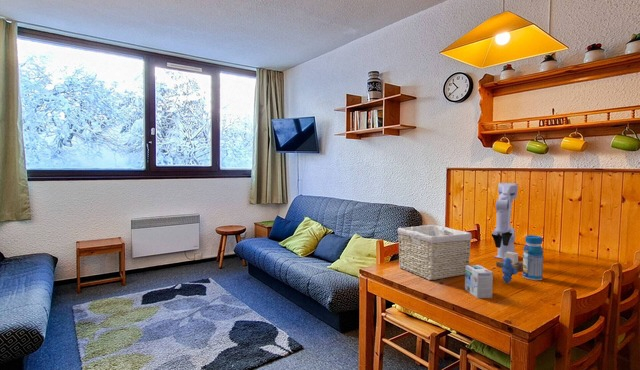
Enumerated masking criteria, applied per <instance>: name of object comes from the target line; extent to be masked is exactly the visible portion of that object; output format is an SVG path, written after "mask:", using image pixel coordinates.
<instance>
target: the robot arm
mask: <svg viewBox="0 0 640 370" xmlns="http://www.w3.org/2000/svg"><path fill="white" fill-rule="evenodd" d="M518 186H519V185H518V183H517V182H516V183H515V182H511V183H510V182H499V183H498V186H497V187H498V188H497V190H498V191H497V192H498V199H496V200H495V201H496V202H495V211H496V212H495V213H496V227H495V228H494V230H493V231H492V233H491V237H492V239H493V243H494V245H495V248H497V255H494V256H493V257H495V258H498V259H502V260H504V253H506V252H513V253H516V252H515V251H516V250H515V248H516V246H515V244H514V242H515V240H516V230H515V228H514V227H512V226H511V220H512V219H511V217H512V216H511V215H512V207H513V201H514V200H515V199H517V197H518V191H519V190H518V188H519V187H518Z"/></svg>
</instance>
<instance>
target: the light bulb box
mask: <svg viewBox="0 0 640 370" xmlns="http://www.w3.org/2000/svg"><path fill="white" fill-rule="evenodd" d="M493 274H494V271H492V270H490V269H487V268H486V267H484V266H482V265H480V264H472V265H471V264H469V265H466V268H465V275H464V290H466V291H467V292H468V294H469V293H470V294H471V295H472V296H473V297H475V298H476V299H490V298H491V299H493V282H494V281H493V279H494V278H493V277H494V275H493Z"/></svg>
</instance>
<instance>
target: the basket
mask: <svg viewBox="0 0 640 370" xmlns="http://www.w3.org/2000/svg"><path fill="white" fill-rule="evenodd" d="M397 234H398V237H397V238H398V259H399V264H398V267H399V269H403V270H405V271H407V272H410V273H412V274H414V275H416V276H419V277H422V278H424V279H426V280H428V281H431V280H434V281H435V280H439V279H446V278H453V277H458V276H459V277H460V276H465V268H466V265H470V256H471V245H472V244H471V241H472V237H473V235H472V233H471V232H469V231H464V230H463V231H462V230H458V229H454V228H451V227H447V226H441V225H437V224H436V225H435V224H428V225H427V224H426V225H419V226H409V227H398V228H397Z"/></svg>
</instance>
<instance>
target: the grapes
mask: <svg viewBox="0 0 640 370" xmlns="http://www.w3.org/2000/svg"><path fill="white" fill-rule="evenodd" d="M502 260H503V261H504V262H505V263H503V264H502V265H503V267H504V268H501V272H502V274H503V275H502V276H501V278H502V280H503V282H505V283H506V284H509V283H511V282H512V280H513V277H512V276H513V275H514V276H516V275H517V274H518V273H519V270H518V271H517V270H516V269H515V268H512V267H513V265H512V264H511V263H512V261H511V259H509V258H505V259H502Z"/></svg>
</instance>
